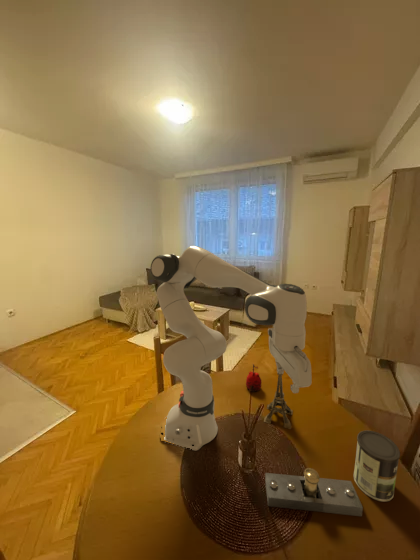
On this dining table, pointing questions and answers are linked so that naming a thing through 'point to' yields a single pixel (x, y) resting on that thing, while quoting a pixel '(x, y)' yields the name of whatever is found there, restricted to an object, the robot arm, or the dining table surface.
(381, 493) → the coffee can
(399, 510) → the dining table surface
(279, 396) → the eiffel tower
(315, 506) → the grey peg board
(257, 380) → the red rounded piece
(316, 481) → the pin
